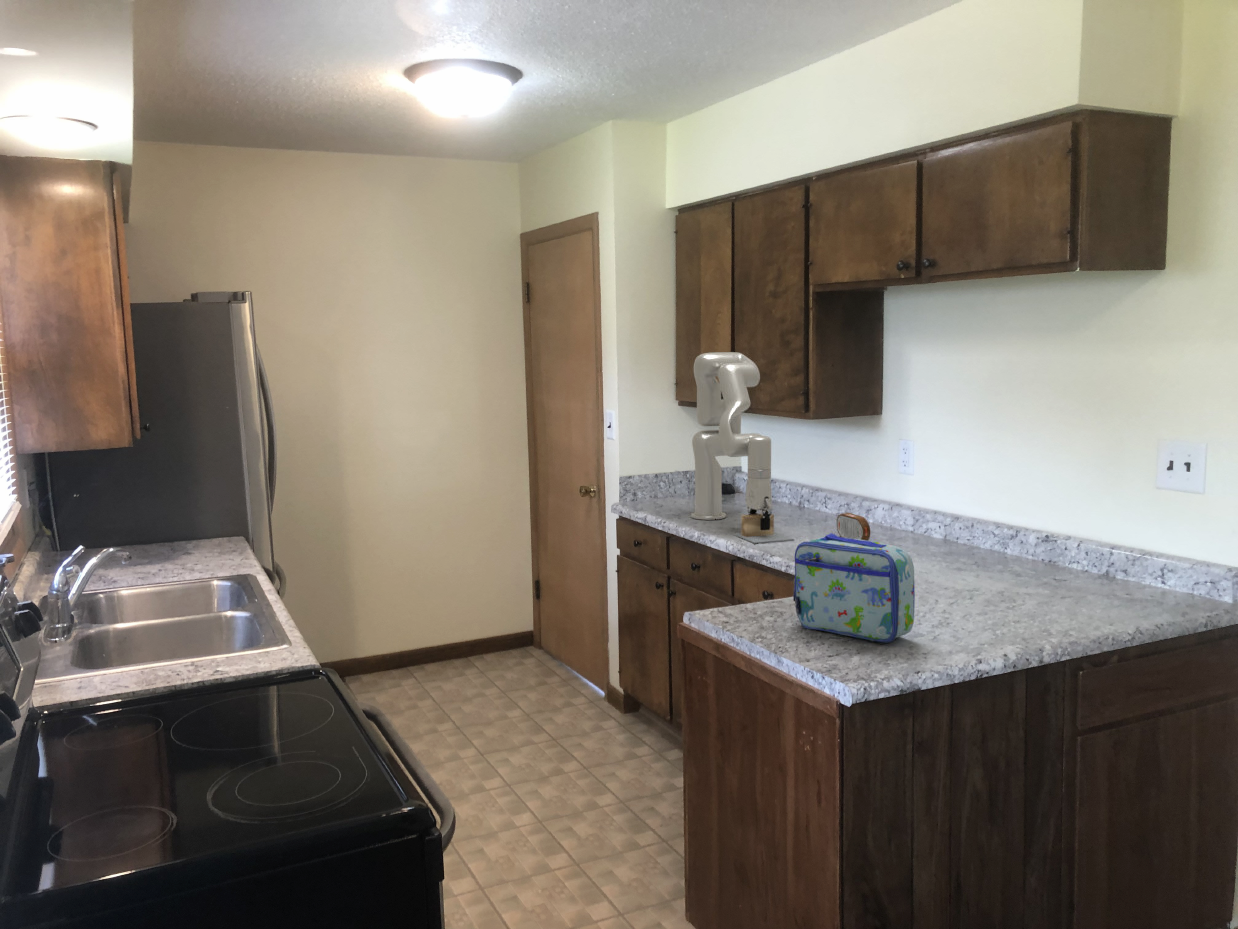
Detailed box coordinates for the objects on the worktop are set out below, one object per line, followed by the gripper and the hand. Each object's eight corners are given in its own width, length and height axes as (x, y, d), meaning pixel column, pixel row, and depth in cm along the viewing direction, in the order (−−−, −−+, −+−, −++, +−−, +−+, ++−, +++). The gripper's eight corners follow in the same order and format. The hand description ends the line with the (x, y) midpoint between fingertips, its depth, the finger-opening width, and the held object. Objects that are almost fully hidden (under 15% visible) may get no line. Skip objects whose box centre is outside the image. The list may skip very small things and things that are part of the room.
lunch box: (786, 626, 214) (787, 534, 212) (814, 616, 222) (815, 527, 219) (891, 651, 196) (894, 551, 193) (917, 639, 203) (920, 543, 201)
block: (741, 534, 313) (741, 515, 312) (768, 532, 316) (768, 513, 315) (746, 536, 309) (746, 517, 308) (773, 534, 313) (773, 514, 312)
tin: (871, 544, 298) (871, 518, 297) (862, 545, 297) (863, 518, 296) (842, 535, 312) (843, 510, 311) (834, 536, 311) (834, 511, 309)
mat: (733, 535, 315) (733, 533, 315) (771, 531, 319) (771, 530, 319) (754, 544, 301) (754, 542, 301) (794, 540, 305) (794, 538, 305)
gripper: (736, 471, 317) (736, 523, 319) (761, 478, 301) (761, 533, 303) (757, 470, 320) (756, 522, 322) (782, 477, 303) (782, 531, 305)
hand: (759, 527), depth 312 cm, fingers open, 7 cm apart
